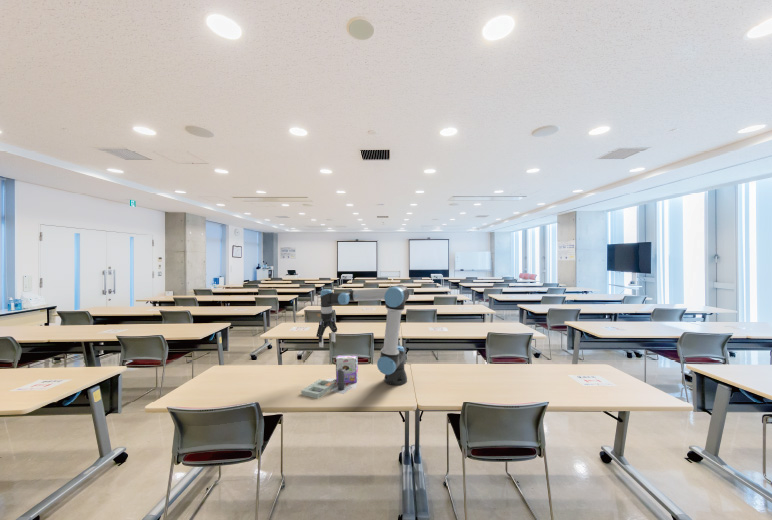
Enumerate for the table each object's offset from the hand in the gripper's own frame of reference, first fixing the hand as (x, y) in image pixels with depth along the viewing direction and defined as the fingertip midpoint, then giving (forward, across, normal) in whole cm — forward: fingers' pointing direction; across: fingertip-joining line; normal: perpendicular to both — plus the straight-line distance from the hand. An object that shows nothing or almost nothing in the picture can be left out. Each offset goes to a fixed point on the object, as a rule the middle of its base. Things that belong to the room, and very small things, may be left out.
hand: (327, 344), depth 212 cm
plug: (+24, +9, +16) cm, 30 cm away
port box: (+24, +16, +4) cm, 29 cm away
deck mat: (+24, +9, +16) cm, 30 cm away
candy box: (+25, -4, +12) cm, 28 cm away
